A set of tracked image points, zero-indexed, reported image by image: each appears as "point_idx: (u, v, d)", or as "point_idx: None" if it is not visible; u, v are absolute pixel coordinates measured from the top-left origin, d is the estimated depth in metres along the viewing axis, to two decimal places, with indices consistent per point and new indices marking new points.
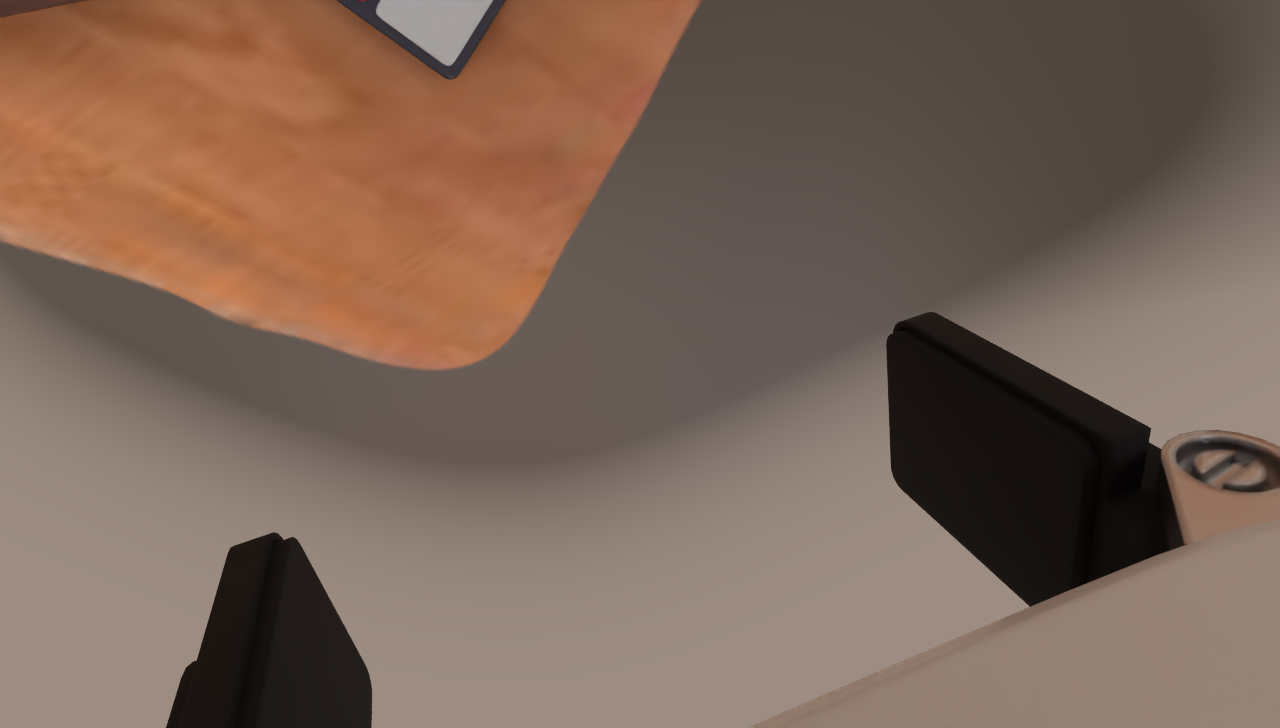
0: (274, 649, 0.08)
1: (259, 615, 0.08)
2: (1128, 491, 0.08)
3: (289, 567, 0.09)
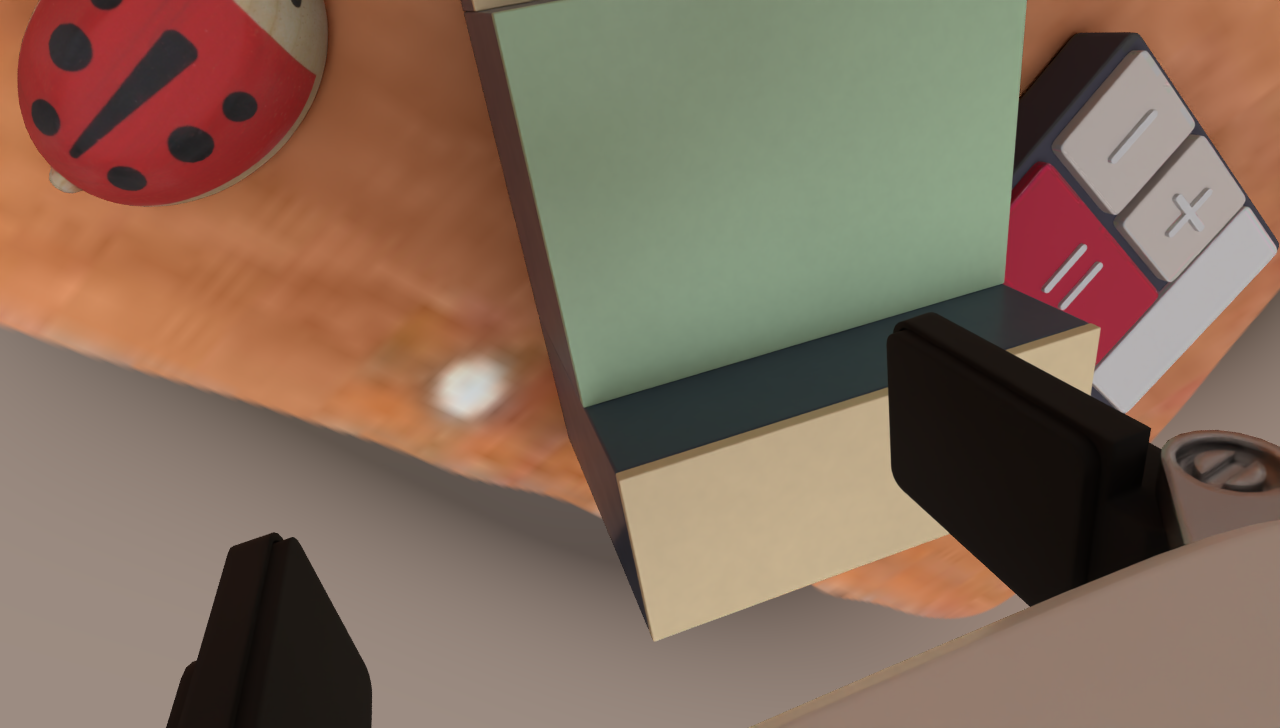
0: (275, 647, 0.08)
1: (259, 615, 0.08)
2: (1128, 491, 0.08)
3: (289, 567, 0.09)
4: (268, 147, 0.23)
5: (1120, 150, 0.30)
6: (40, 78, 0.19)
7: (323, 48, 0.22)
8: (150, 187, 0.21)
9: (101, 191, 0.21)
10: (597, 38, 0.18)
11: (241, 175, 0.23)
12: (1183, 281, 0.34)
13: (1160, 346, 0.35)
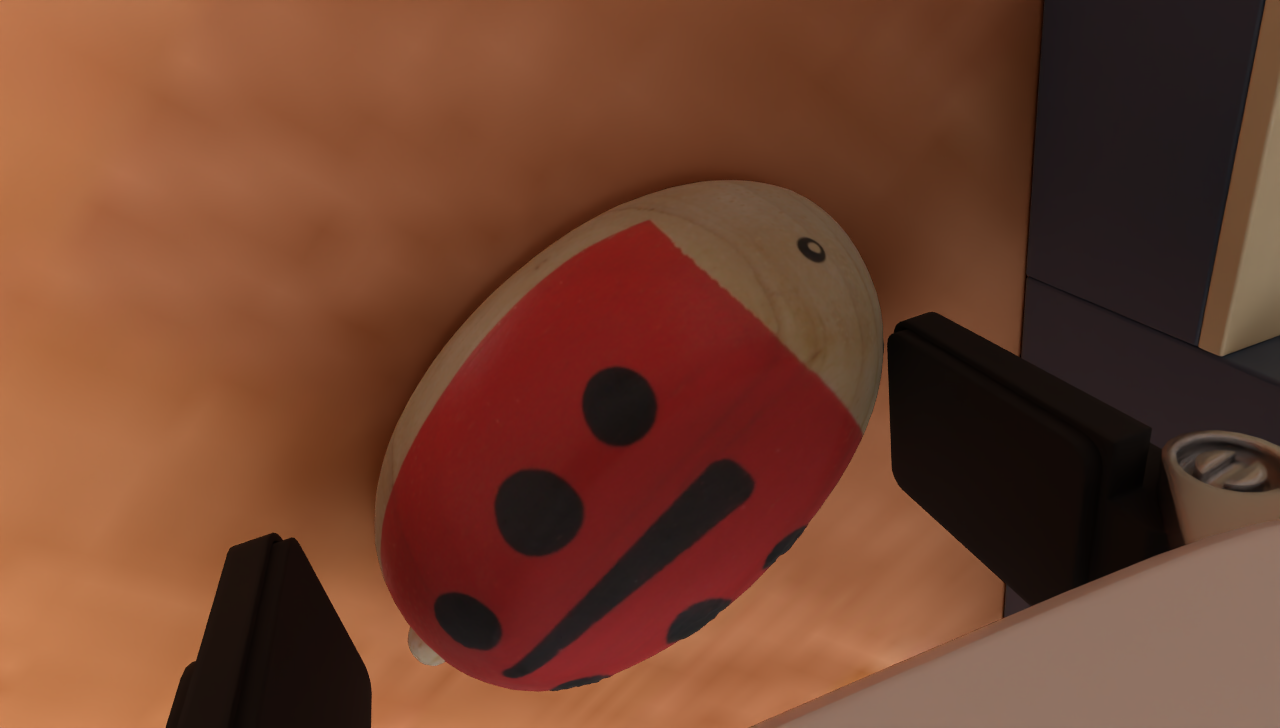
0: (274, 648, 0.08)
1: (258, 615, 0.08)
2: (1129, 491, 0.08)
3: (288, 567, 0.09)
4: None
5: None
6: (470, 561, 0.10)
7: None
8: None
9: None
10: None
11: None
12: None
13: None
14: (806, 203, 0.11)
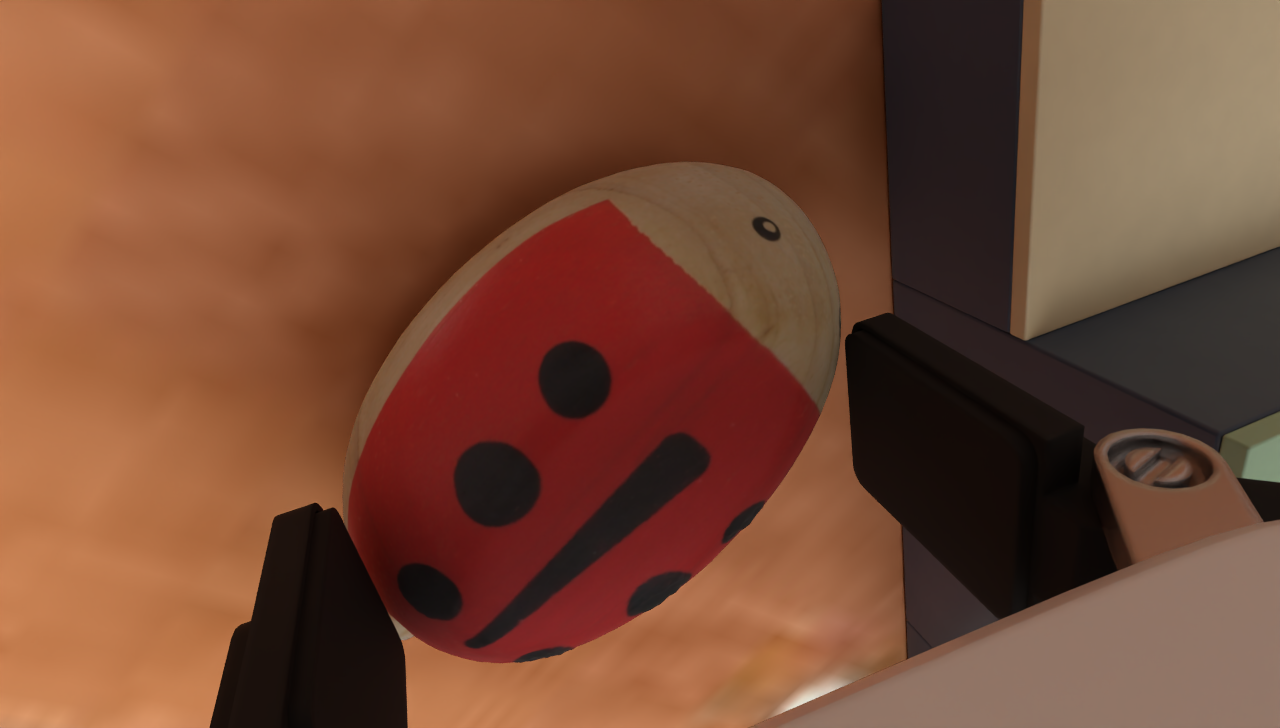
0: (324, 607, 0.08)
1: (306, 577, 0.09)
2: (1065, 487, 0.09)
3: (331, 535, 0.10)
4: None
5: None
6: (431, 532, 0.10)
7: None
8: None
9: None
10: None
11: None
12: None
13: None
14: (764, 184, 0.11)
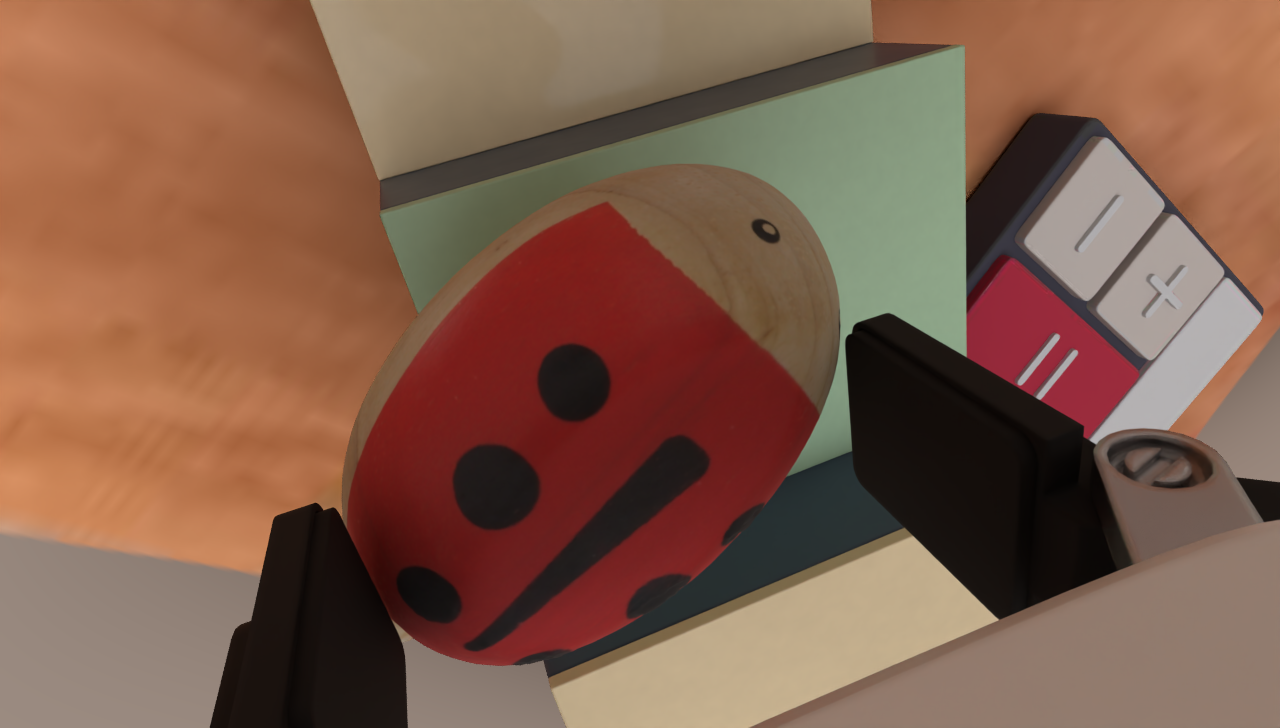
0: (324, 607, 0.08)
1: (306, 576, 0.09)
2: (1064, 487, 0.09)
3: (331, 534, 0.10)
4: None
5: (1087, 238, 0.28)
6: (430, 534, 0.10)
7: None
8: None
9: None
10: (497, 225, 0.17)
11: None
12: (1165, 357, 0.32)
13: (1145, 423, 0.33)
14: (764, 186, 0.11)
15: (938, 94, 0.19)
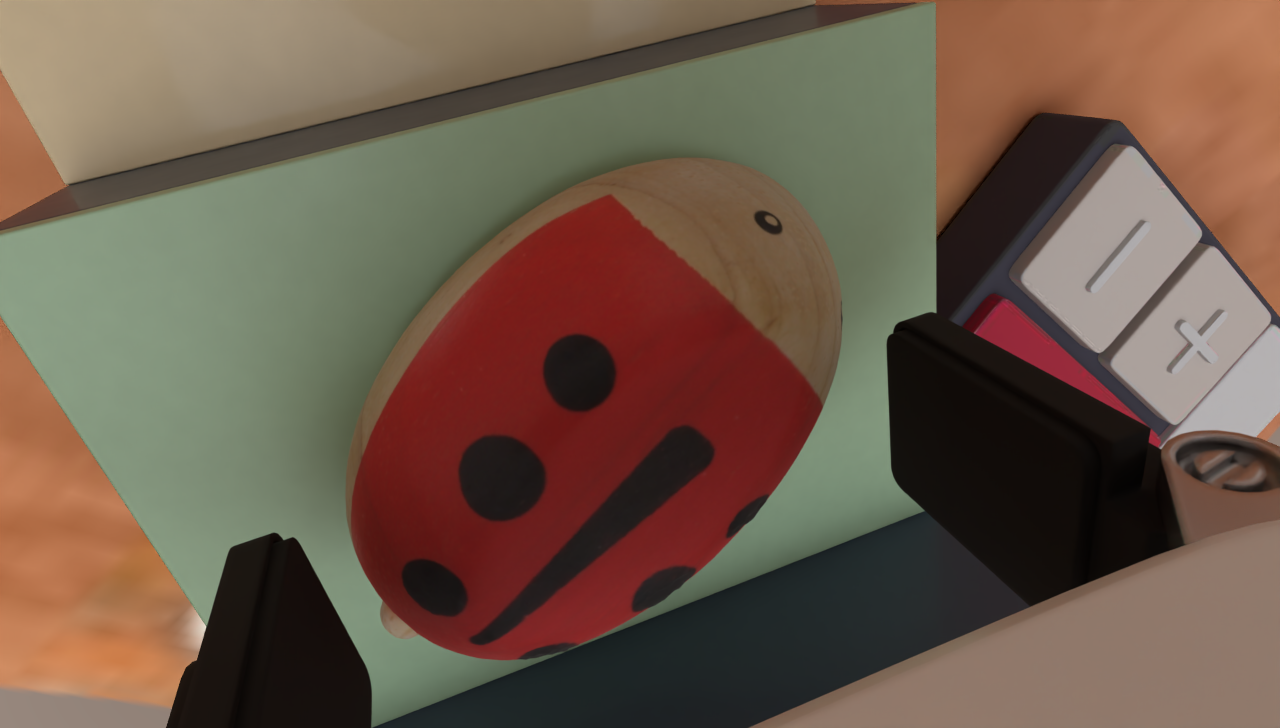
0: (275, 648, 0.08)
1: (259, 614, 0.08)
2: (1128, 491, 0.08)
3: (289, 567, 0.09)
4: None
5: (1102, 276, 0.22)
6: (435, 527, 0.10)
7: None
8: None
9: None
10: (177, 264, 0.11)
11: None
12: (1192, 420, 0.26)
13: None
14: (765, 179, 0.11)
15: (895, 76, 0.13)
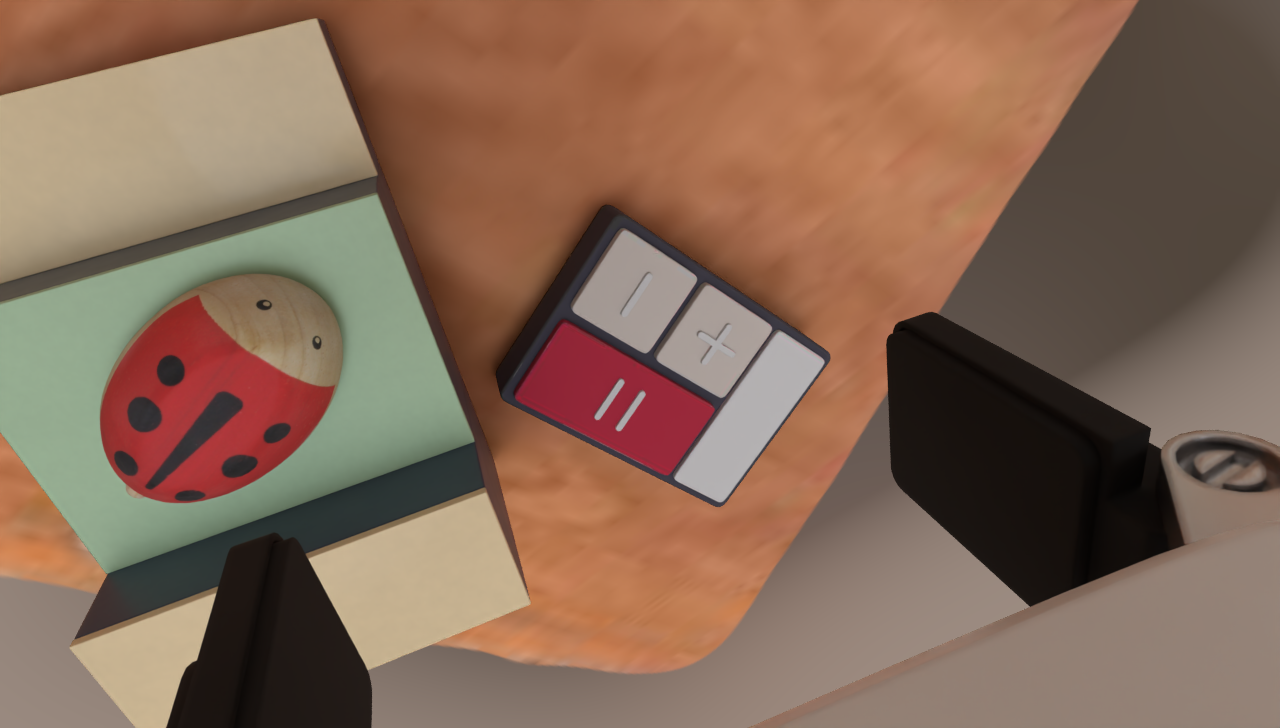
0: (274, 648, 0.08)
1: (259, 615, 0.08)
2: (1128, 491, 0.08)
3: (289, 567, 0.09)
4: (299, 444, 0.28)
5: (627, 306, 0.36)
6: (121, 436, 0.24)
7: (340, 363, 0.27)
8: (207, 496, 0.26)
9: (169, 502, 0.26)
10: (17, 330, 0.25)
11: None
12: (738, 394, 0.40)
13: (735, 447, 0.41)
14: (280, 283, 0.26)
15: (365, 227, 0.27)
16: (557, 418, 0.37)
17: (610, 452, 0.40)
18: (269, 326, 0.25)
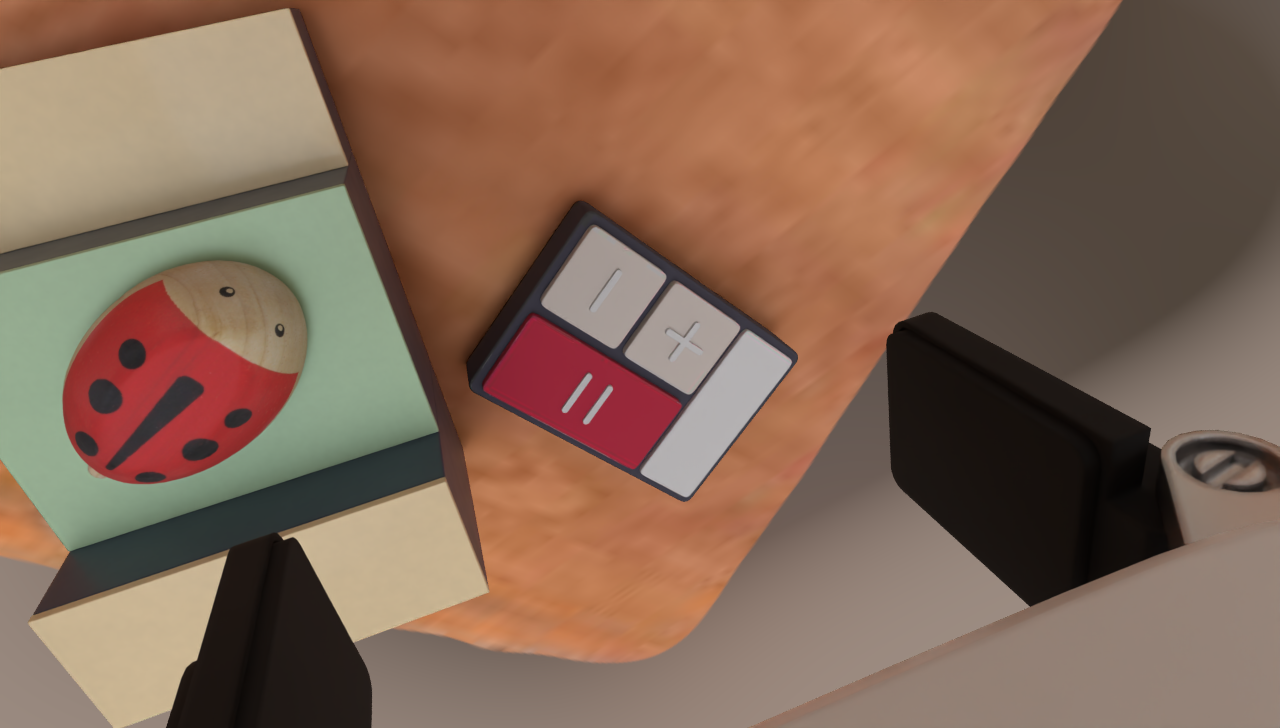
0: (275, 647, 0.08)
1: (259, 614, 0.08)
2: (1127, 491, 0.08)
3: (289, 567, 0.09)
4: (261, 429, 0.28)
5: (596, 302, 0.37)
6: (82, 417, 0.25)
7: (303, 350, 0.28)
8: (168, 478, 0.27)
9: (130, 483, 0.27)
10: None
11: (240, 449, 0.28)
12: (705, 392, 0.41)
13: (701, 443, 0.42)
14: (245, 270, 0.26)
15: (331, 217, 0.27)
16: (525, 410, 0.38)
17: (577, 444, 0.40)
18: (231, 313, 0.25)
